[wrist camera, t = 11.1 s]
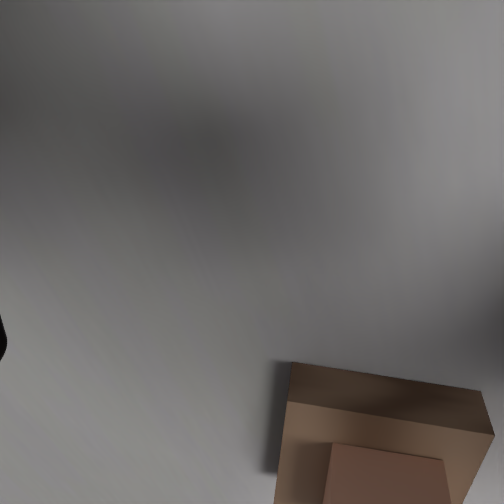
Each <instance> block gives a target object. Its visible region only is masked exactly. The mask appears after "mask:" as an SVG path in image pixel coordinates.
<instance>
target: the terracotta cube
mask: <svg viewBox="0 0 504 504" xmlns="http://www.w3.org/2000/svg"><path fill="white" fill-rule="evenodd" d="M323 504H452V503H451V498H450V493H449V487H448V482H447V477H446V472H445V466H444V461H442V460H436V459H430V458H424V457H418V456H412V455H406V454H399V453H393V452H387V451H381V450H375V449H369V448H363V447H357V446H350V445H344V444H338V443H333V444H332V450H331V456H330V462H329V468H328V474H327V480H326V486H325V492H324V498H323Z"/></svg>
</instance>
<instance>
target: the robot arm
mask: <svg viewBox="0 0 504 504" xmlns="http://www.w3.org/2000/svg"><path fill="white" fill-rule="evenodd" d="M6 347H7V337H6V333H5V330H4V326H3V323H2V319H1V316H0V361H1V359H2V357H3V355H4V353H5V351H6Z"/></svg>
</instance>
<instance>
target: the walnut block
mask: <svg viewBox="0 0 504 504" xmlns="http://www.w3.org/2000/svg"><path fill="white" fill-rule="evenodd" d="M494 437H495V434H494V431H493V428H492V425H491V422H490V419H489V416H488V412H487V409H486V406H485V403H484V400H483V397H482V394H481V391H476V390H469V389H463V388H456V387H450V386H444V385H437V384H431V383H425V382H418V381H412V380H405V379H399V378H393V377H386V376H380V375H373V374H367V373H361V372H354V371H348V370H341V369H335V368H329V367H322V366H316V365H309V364H303V363H297V362H292V368H291V376H290V383H289V391H288V398H287V406H286V413H285V421H284V428H283V436H282V443H281V451H280V459H279V466H278V474H277V481H276V489H275V497H274V504H323V498H324V492H325V486H326V480H327V474H328V468H329V462H330V456H331V450H332V444H333V443H338V444H344V445H350V446H357V447H363V448H369V449H375V450H381V451H387V452H393V453H399V454H406V455H412V456H418V457H424V458H430V459H436V460H442V461H444V466H445V472H446V477H447V482H448V487H449V493H450V498H451V503H452V504H462V503H463V501H464V499H465V497H466V495H467V493H468V491H469V488H470V486H471V484H472V482H473V480H474V478H475V476H476V474H477V472H478V470H479V468H480V466H481V464H482V461H483V459H484V457H485V455H486V453H487V451H488V449H489V447H490V445H491V443H492V441H493V439H494Z"/></svg>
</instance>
